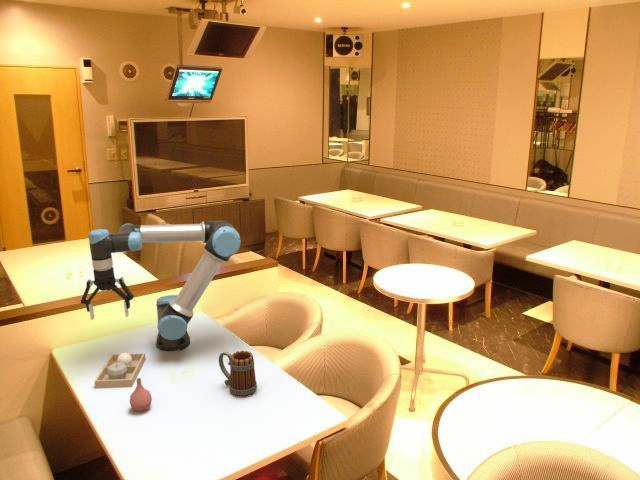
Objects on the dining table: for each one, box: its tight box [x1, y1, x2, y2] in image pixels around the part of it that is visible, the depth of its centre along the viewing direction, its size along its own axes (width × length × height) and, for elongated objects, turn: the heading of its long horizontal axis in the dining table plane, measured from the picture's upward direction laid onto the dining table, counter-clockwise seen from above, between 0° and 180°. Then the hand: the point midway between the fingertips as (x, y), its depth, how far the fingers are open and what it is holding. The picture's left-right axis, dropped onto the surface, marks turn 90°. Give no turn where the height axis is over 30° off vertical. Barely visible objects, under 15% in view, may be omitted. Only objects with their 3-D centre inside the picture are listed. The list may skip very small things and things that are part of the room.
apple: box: [107, 362, 127, 380], centre depth 217 cm, size 8×8×7 cm
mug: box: [218, 350, 258, 398], centre depth 210 cm, size 16×11×15 cm
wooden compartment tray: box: [94, 352, 147, 389], centre depth 223 cm, size 14×22×4 cm, turn 4°
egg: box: [117, 352, 132, 366], centre depth 227 cm, size 6×6×6 cm
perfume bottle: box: [129, 377, 153, 412], centre depth 198 cm, size 8×8×12 cm
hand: (109, 317), depth 224 cm, fingers open, 13 cm apart
